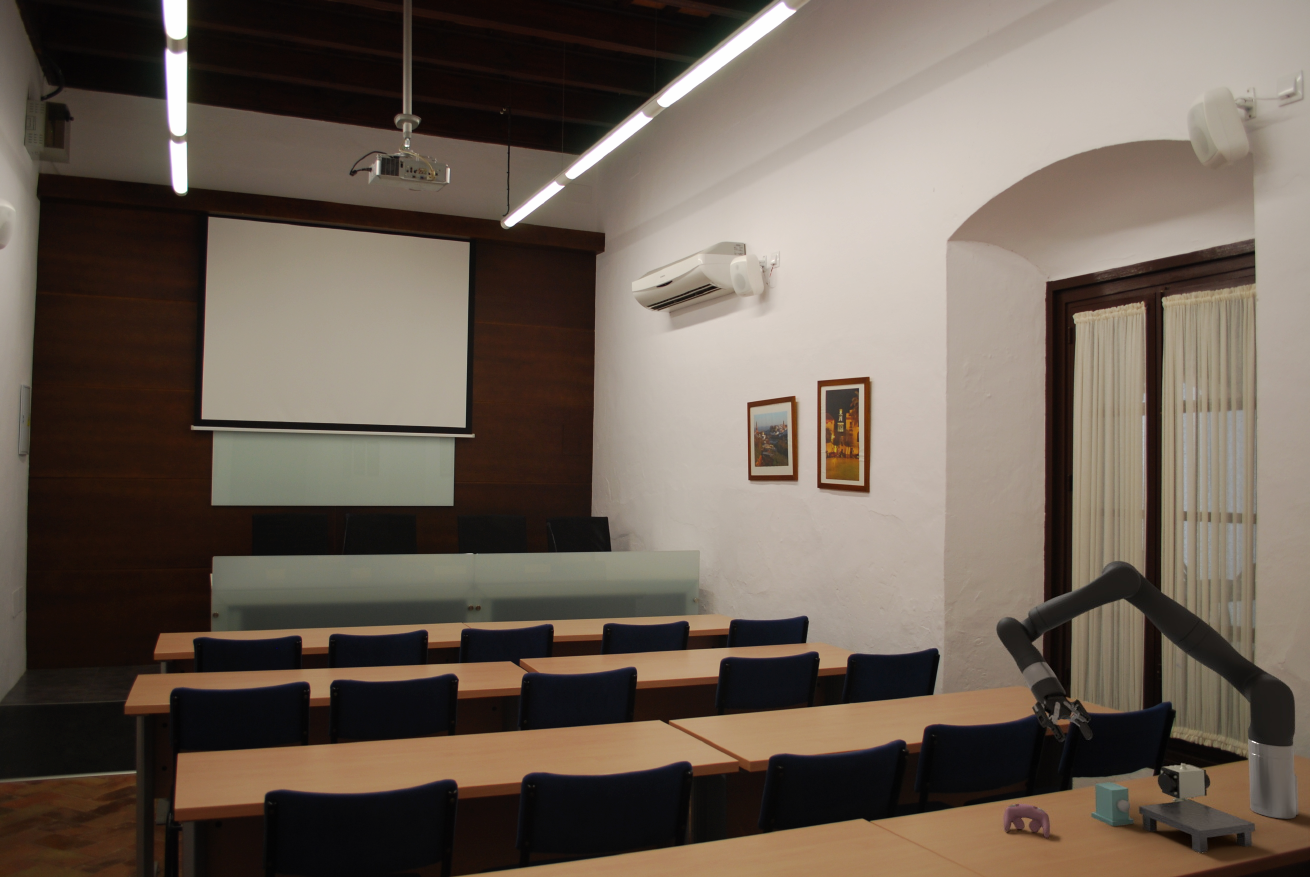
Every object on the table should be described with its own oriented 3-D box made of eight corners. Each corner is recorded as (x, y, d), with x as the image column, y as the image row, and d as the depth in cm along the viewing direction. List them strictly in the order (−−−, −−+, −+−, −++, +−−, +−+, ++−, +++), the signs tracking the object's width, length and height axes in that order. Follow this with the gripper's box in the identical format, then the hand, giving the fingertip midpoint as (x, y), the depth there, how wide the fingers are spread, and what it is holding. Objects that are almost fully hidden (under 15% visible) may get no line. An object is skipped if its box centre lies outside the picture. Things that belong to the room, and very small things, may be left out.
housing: (1112, 814, 215) (1111, 780, 216) (1136, 824, 208) (1136, 790, 209) (1091, 816, 213) (1090, 783, 214) (1115, 827, 206) (1114, 792, 207)
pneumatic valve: (1212, 814, 216) (1210, 764, 216) (1173, 819, 212) (1172, 768, 213) (1192, 807, 221) (1191, 758, 222) (1154, 811, 218) (1153, 761, 219)
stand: (1191, 821, 211) (1191, 799, 211) (1255, 846, 196) (1254, 823, 196) (1139, 828, 206) (1139, 806, 207) (1200, 854, 191) (1200, 830, 191)
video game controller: (1050, 841, 202) (1049, 808, 205) (1049, 838, 198) (1049, 805, 201) (1004, 833, 206) (1004, 802, 209) (1002, 830, 202) (1003, 798, 206)
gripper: (1028, 676, 230) (1061, 733, 218) (1072, 674, 234) (1107, 729, 222) (1014, 692, 234) (1046, 748, 223) (1058, 690, 239) (1091, 745, 227)
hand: (1076, 739), depth 223 cm, fingers open, 8 cm apart
